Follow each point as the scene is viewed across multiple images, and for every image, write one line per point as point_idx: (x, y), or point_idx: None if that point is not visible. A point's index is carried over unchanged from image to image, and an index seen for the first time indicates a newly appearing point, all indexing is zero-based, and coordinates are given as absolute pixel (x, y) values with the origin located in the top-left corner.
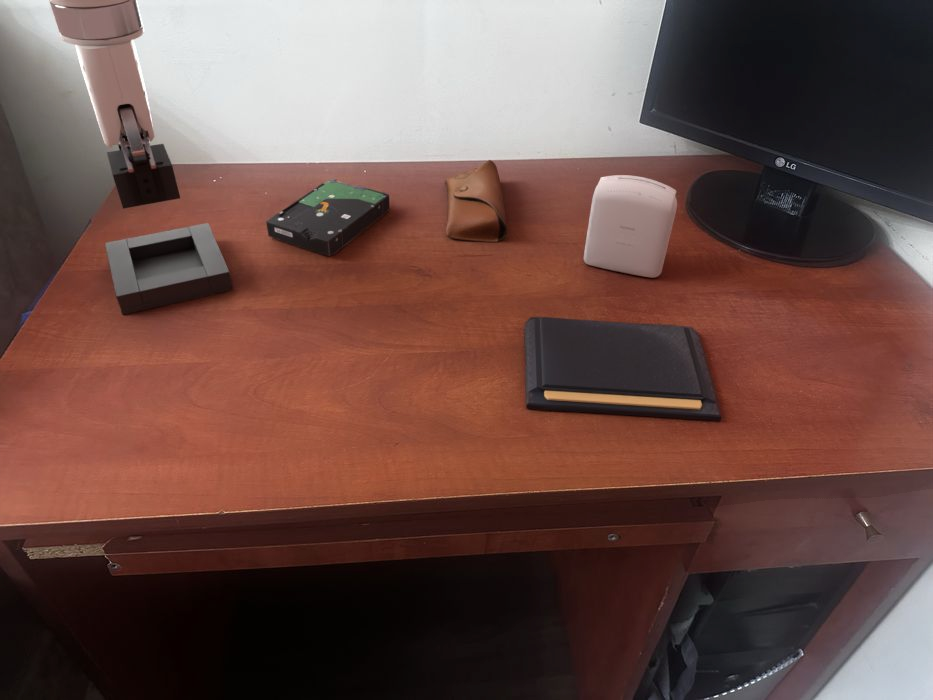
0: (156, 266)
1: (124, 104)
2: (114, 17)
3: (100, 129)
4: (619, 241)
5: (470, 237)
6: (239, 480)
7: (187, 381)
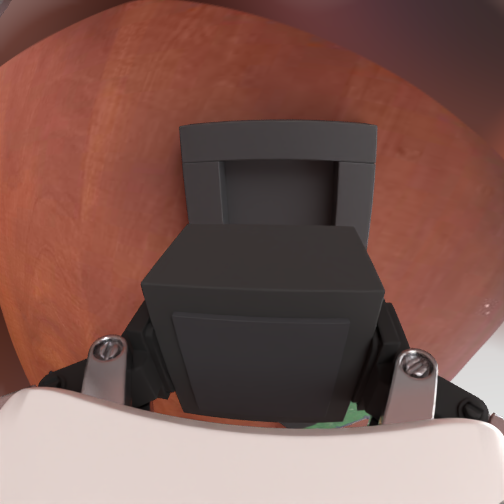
0: (297, 190)
1: None
2: None
3: (33, 451)
4: None
5: None
6: None
7: (59, 196)
